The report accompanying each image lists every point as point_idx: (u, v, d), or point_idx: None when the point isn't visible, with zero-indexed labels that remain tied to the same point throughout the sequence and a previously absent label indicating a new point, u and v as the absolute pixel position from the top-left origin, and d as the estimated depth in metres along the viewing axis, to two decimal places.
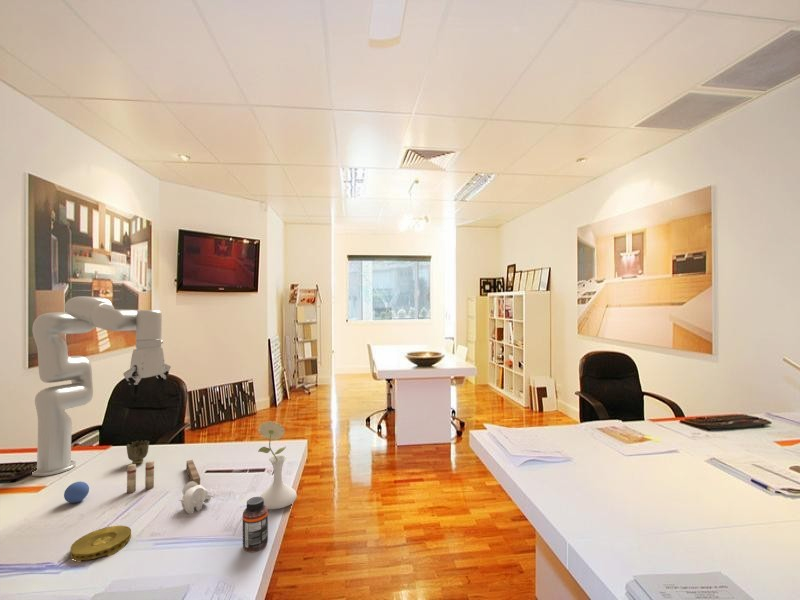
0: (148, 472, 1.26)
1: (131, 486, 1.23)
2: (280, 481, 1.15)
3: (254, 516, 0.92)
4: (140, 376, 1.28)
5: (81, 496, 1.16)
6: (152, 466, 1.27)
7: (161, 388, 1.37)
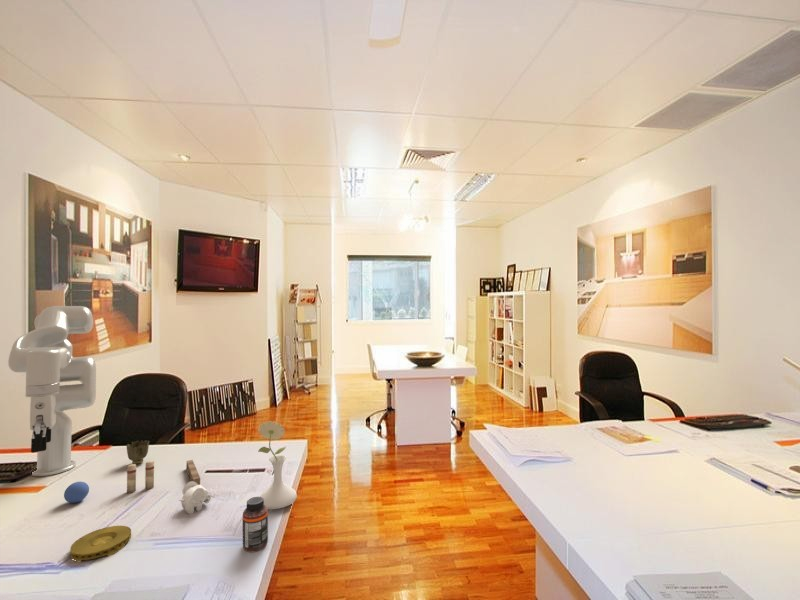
0: (148, 472, 1.26)
1: (131, 486, 1.23)
2: (280, 481, 1.15)
3: (254, 515, 0.92)
4: None
5: (81, 496, 1.16)
6: (152, 466, 1.27)
7: None
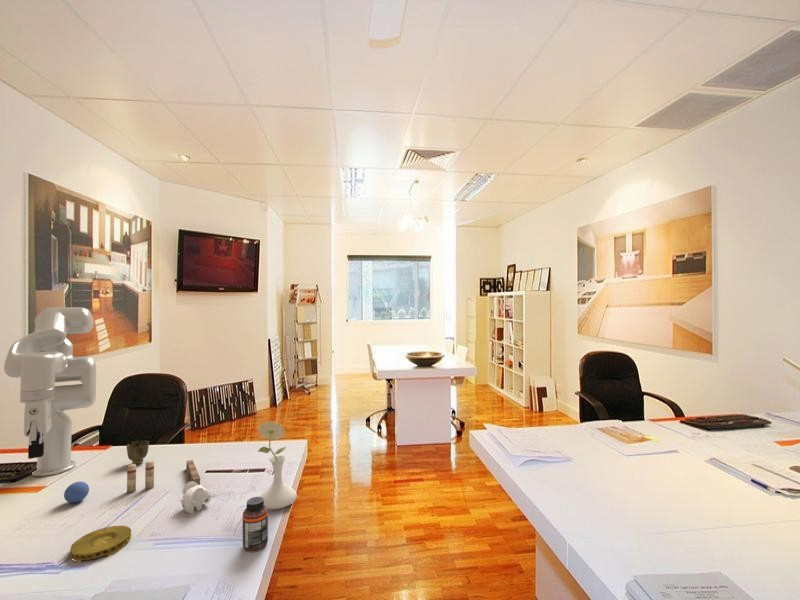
0: (148, 472, 1.26)
1: (131, 486, 1.23)
2: (280, 481, 1.15)
3: (254, 516, 0.92)
4: None
5: (81, 496, 1.16)
6: (152, 466, 1.27)
7: None
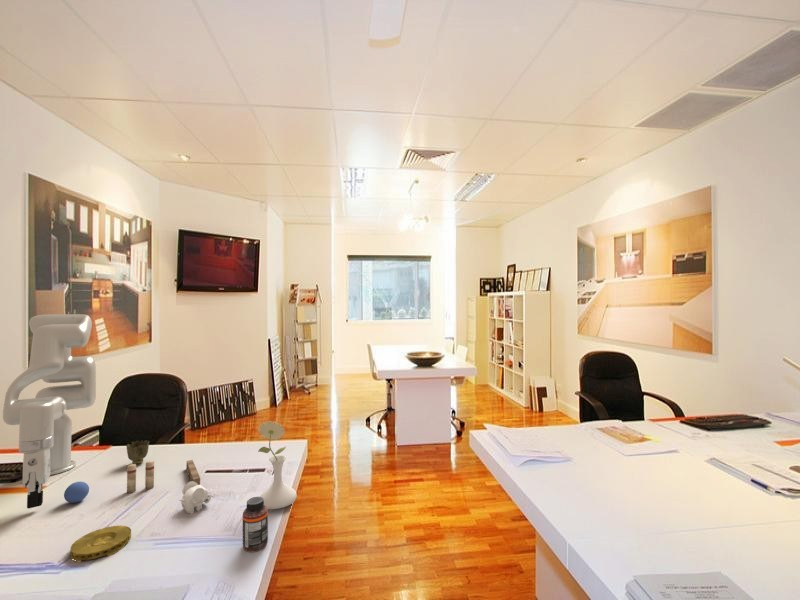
0: (148, 472, 1.26)
1: (131, 486, 1.23)
2: (280, 481, 1.15)
3: (254, 516, 0.92)
4: None
5: (81, 496, 1.16)
6: (152, 466, 1.27)
7: None
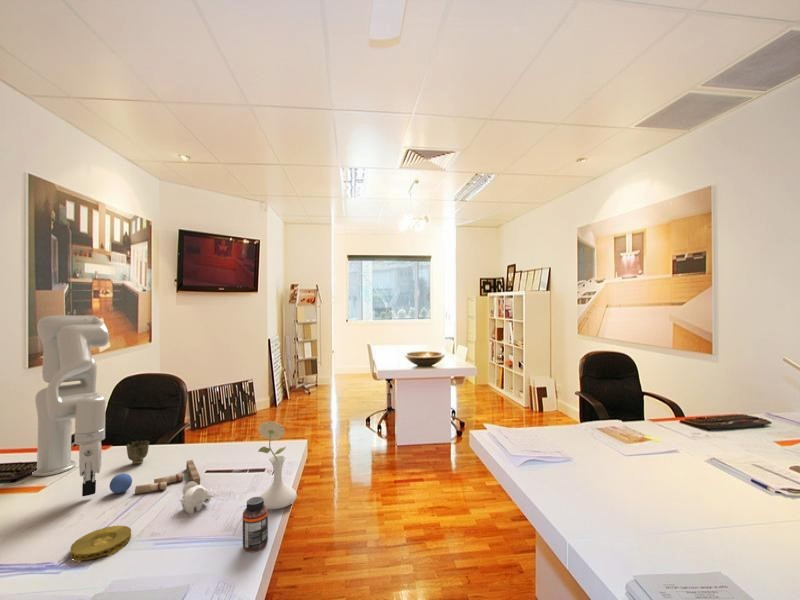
0: (173, 478, 1.30)
1: None
2: (280, 481, 1.15)
3: (254, 516, 0.92)
4: None
5: (114, 482, 1.21)
6: (179, 480, 1.31)
7: None
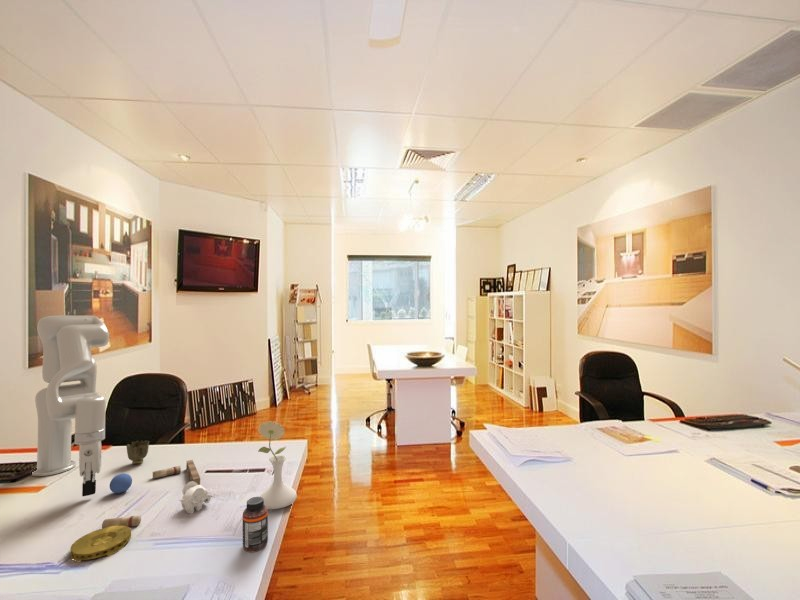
0: (171, 470, 1.37)
1: None
2: (280, 481, 1.15)
3: (254, 515, 0.92)
4: None
5: (114, 482, 1.21)
6: (176, 472, 1.37)
7: None
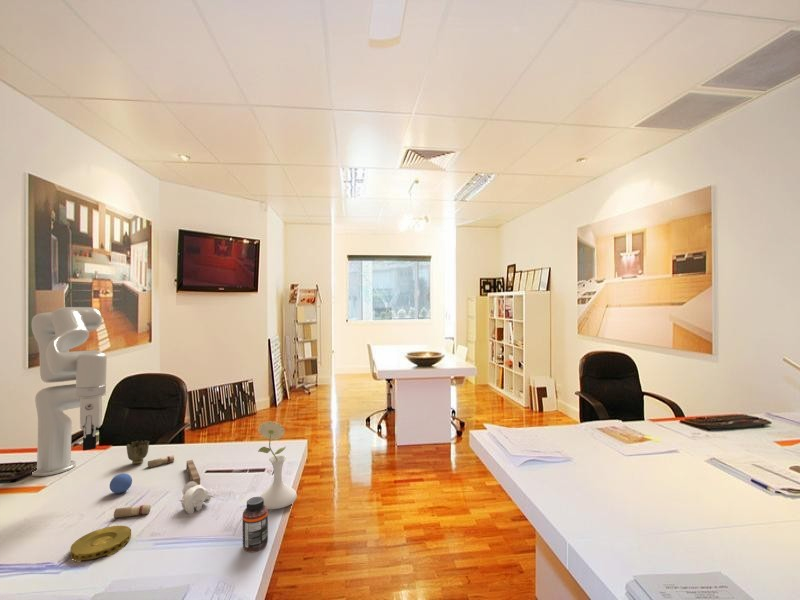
0: (165, 463, 1.47)
1: None
2: (280, 481, 1.15)
3: (254, 515, 0.92)
4: None
5: (114, 482, 1.21)
6: None
7: None
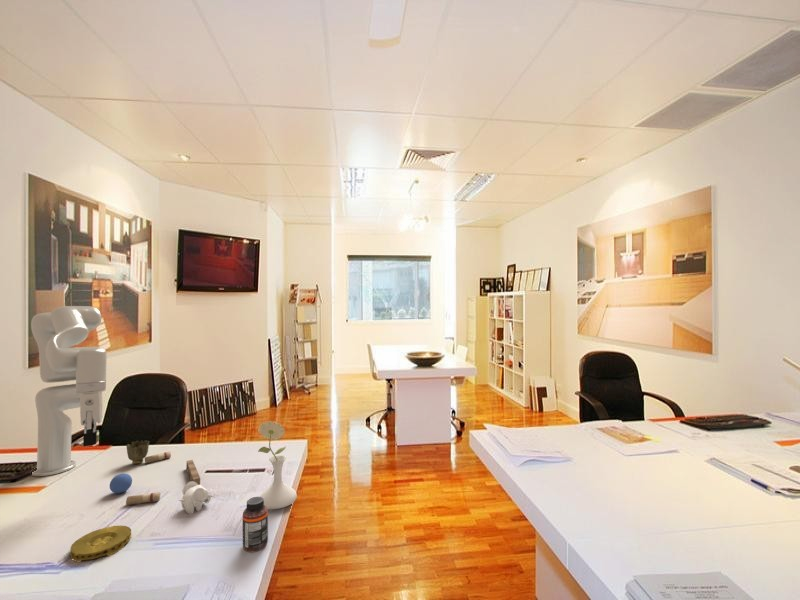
0: None
1: None
2: (280, 481, 1.15)
3: (254, 516, 0.92)
4: None
5: (114, 482, 1.21)
6: None
7: None
